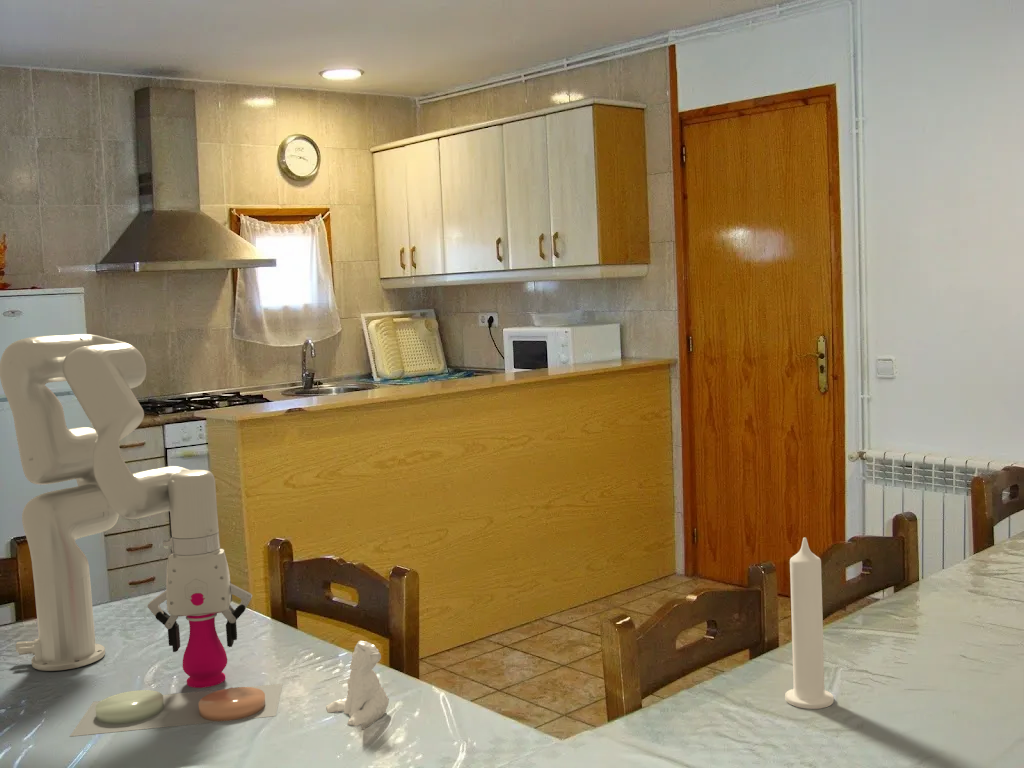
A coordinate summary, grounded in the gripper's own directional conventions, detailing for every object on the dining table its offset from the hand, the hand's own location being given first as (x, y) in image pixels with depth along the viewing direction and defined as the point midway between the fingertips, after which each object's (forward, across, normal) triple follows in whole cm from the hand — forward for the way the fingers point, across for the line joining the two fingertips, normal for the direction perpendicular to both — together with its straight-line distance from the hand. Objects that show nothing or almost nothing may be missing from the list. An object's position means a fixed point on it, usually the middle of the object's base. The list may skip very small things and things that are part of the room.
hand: (203, 646), depth 177 cm
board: (+7, -2, -12) cm, 14 cm away
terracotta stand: (+6, +6, -14) cm, 16 cm away
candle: (+7, +93, -31) cm, 98 cm away
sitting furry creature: (+7, +26, -20) cm, 34 cm away
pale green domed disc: (+6, -10, -11) cm, 16 cm away
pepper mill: (+7, 0, 0) cm, 7 cm away
